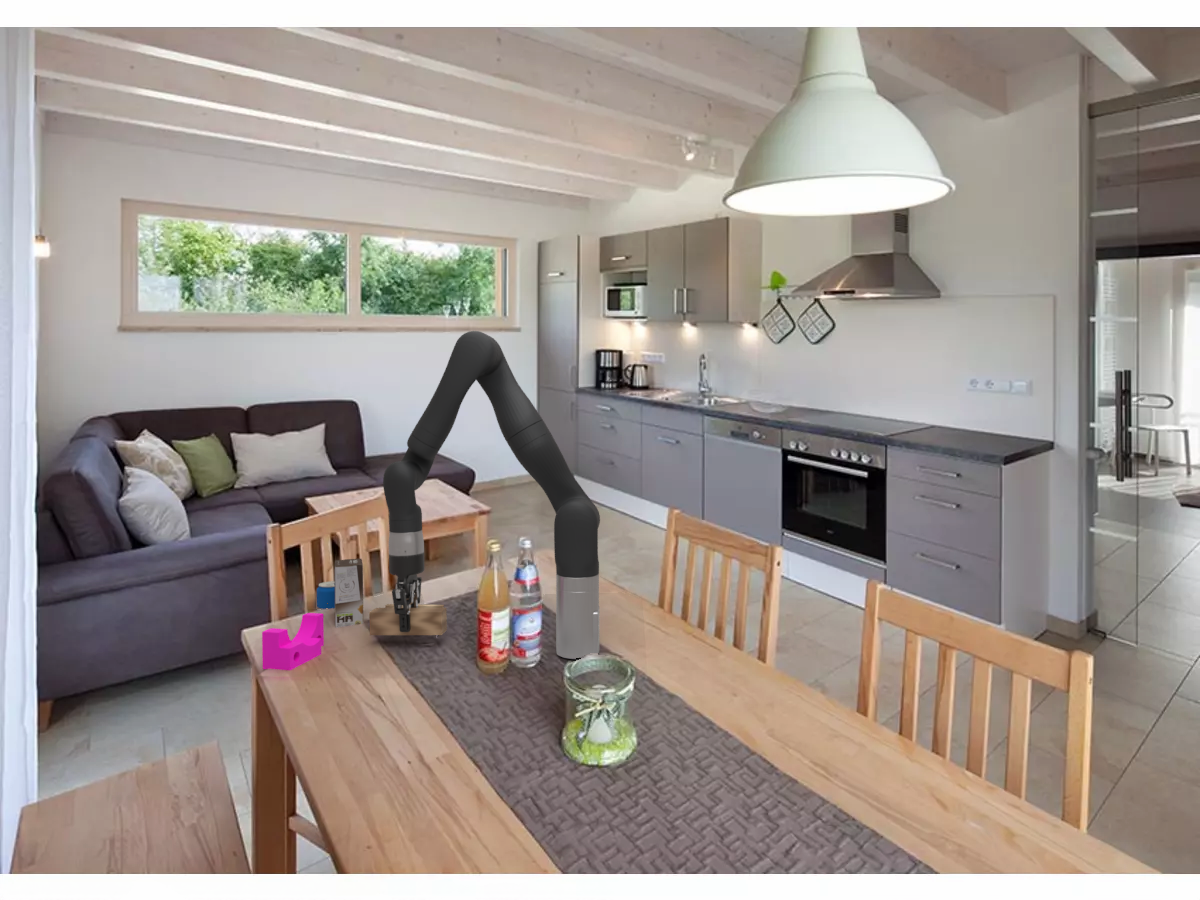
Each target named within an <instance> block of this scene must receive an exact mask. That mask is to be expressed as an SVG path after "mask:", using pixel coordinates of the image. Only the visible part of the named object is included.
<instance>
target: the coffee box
mask: <svg viewBox="0 0 1200 900" xmlns="http://www.w3.org/2000/svg"><path fill="white" fill-rule="evenodd" d="M334 581H335V608H334V624H335V628H344V627H350V626H356V625H362V624H364V564H363V560H362V558H348V559H335V560H334Z"/></svg>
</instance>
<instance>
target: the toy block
mask: <svg viewBox="0 0 1200 900" xmlns="http://www.w3.org/2000/svg"><path fill="white" fill-rule="evenodd" d="M324 636H325V635H324V613H319V612H318V613H317V612H307V613H304V614H302V618H301V623H300V625H299V628H298V631H297V633H296V634H295V636H294V637H293V639H291V638H290V636H289V632H288V629H287V628H275V627H274V628H273V627H270V628H267V629H266V630H263V631H262V632H261V639H262V640H261V642H262V643H261V645H262V646H261V647H262V650H261V651H262V657H261V659H262V669H263V670H268V669H269V670H281V671H292V670H294V669H296V668H298V667H299V666H301V665H305V663H307V662H309V661H312V660H313V659H315V658H317V657H318V656H321V655H322V647H323V646H324V645H325V643H324V642H325V641H324V638H325V637H324ZM321 646H322V647H321Z"/></svg>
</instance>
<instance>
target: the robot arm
mask: <svg viewBox="0 0 1200 900" xmlns="http://www.w3.org/2000/svg"><path fill="white" fill-rule="evenodd" d="M475 382H477V383H478V384H479V385H480V387H481V389H482V390H483V391H484V393H485V394H486V396H487V398H488V399H489V401H490V403H491V407H492V409H493V412H494V415H495V418H496V421H497V424H498V426H499V429H500V431H501V434H502V435H503V438H504V440H505V442H506V443H507V445H508V447H509V449H510V450H511V452H512V453H513V455H514V457H515V458H516V460H518V462H519V463H520V465H521V466H522V468H524V470H525V471H527V473H528V474H529V475H530V477H532V478H533V480H534V481H536V483H537V484H538V485H539V486H540V488H541V489H542V490H543V492H544V493H545V495H546V497H547V498H548V500H549V502H550V504H551V506H552V508H553V511H554V512H555V516H554V523H553V525H554V526H553V527H554V528H553V533H554V534H553V537H554V539H553V541H554V542H553V543H554V544H553V545H554V547H553V548H554V563H555V569H556V570H555V573H556V574H555V579H556V580H555V582H556V583H555V584H556V585H555V586H556V587H555V589H556V590H555V591H556V592H555V593H556V595H555V599H556V601H555V605H556V606H555V607H556V609H555V615H556V616H555V618H556V620H555V625H556V627H555V633H556V634H555V635H556V636H555V638H556V639H555V640H556V641H555V647H556V651H555V652H556V655H557V656H559V657H562V658H564V659H571V660H577V659H576V658H579V657H582V656H584V655H586V654H590V653H599V654H600V598H599V597H600V592H599V591H600V562H599V552H598V551H599V544H598V543H599V542H598V541H599V536H598V535H599V532H598V531H599V527H600V523H601V515H600V511H599V509H598V508H597V506H596V504H595V503H594V502H593V501H592V500H591V498H590V496H589V495H588V494H587V493H586V492H585V490H584V489H583V488H582V486H581V485H580V484H579V482H578V481H577V479H576V478H575V476H574V475H573V473H572V471H571V470H570V468H569V465H568V463H567V461H566V459H565V457H564V455H563V453H562V451H561V449H560V448H559V446H558V444H557V441H556V440H555V439H554V436H553V435H552V433H551V431H550V429H549V427H548V426H547V425H546V423H545V420H543V417H542V416H541V415H540V413H539V412H538V410H537V409H536V407H535V405H534V404H533V402H531V400H530V399H529V397H528V396H527V394H526V393H525V392H524V390H523V389H522V387H521V386H520V385H519V383H518V381H517V379H516V377H515V375H514V374H513V371H512V369H511V367H510V365H509V363H508V360H507V359H506V356H505V354H504V352H503V350H502V348H501V346H500V344H499V342H498V341H497V340H496V339H495V338H493V337H492V336H490V335H488V334H487V333H484V332H482V331H479V330H472V331H471V330H470V331H467V332H464V333H463V334H462V335H460V337H458V339H457V341H456V342H455V344H454V346H453V349H452V352H451V354H450V357H449V358H448V362H447V365H446V367H445V370H444V372H443V374H442V376H441V378H440V380H439V383H438V385H437V387H436V389H435V391H434V393H433V396H432V397H431V399H430V401H429V403H428V405H427V406H426V408H425V409H424V411H423V413H422V415H421V416H420V418H419V419H418V421H417V423H416V425H415V427H414V428H413V429H412V431H411V433H410V435H409V437H408V439H407V442H406V445H407V450H406V452H405V453H404V456H403V457H402V459H401V461H399V460H398V461H395V462H391V463H390V464H389V465H388V466H387V467H386V469H385V471H384V474H383V477H382V478H383V480H382V484H383V485H382V487H383V492H384V497H385V501H386V506H387V509H388V513H389V514H388V525H389V526H388V527H389V530H388V531H389V533H388V572H389V574H390V575H392V576H396V577H397V580H396V583H395V588H393V589H392V591H391V595H392V602H393V603H392V604H394V610H395V614H398V615H399V624H400V632H409V631H410V630H411V626H410V613H411V611H410V610H411V608H418V604H421V595H422V594H421V591H422V580H423V579H422V577H421V576H418V575H419V574H422V573H424V572H425V569H426V567H425V540H424V539H425V538H424V534H423V532H424V531H423V513H422V508H421V506H420V505H419V504H418V503H417V499H416V498H417V497H416V491H417V490H418V489H420V488H421V487H422V486H423V484H424V483H425V481H426V479H428V476H429V474H430V472H431V469H432V467H433V464H434V461H435V458H436V456H437V455H438V453H439V451H440V450H441V449H442V446H443V445H444V443H445V441H446V440H447V439H448V437H449V434H450V433H451V431H452V429H453V427H454V424H455V422H456V419H457V416H458V415H459V411H460V409H461V406H462V403H463V401H464V399H465V397H466V395H467V394H468V391H469V390H470V389H471V387H472V385H474V383H475ZM402 605H403V608H402Z"/></svg>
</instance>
